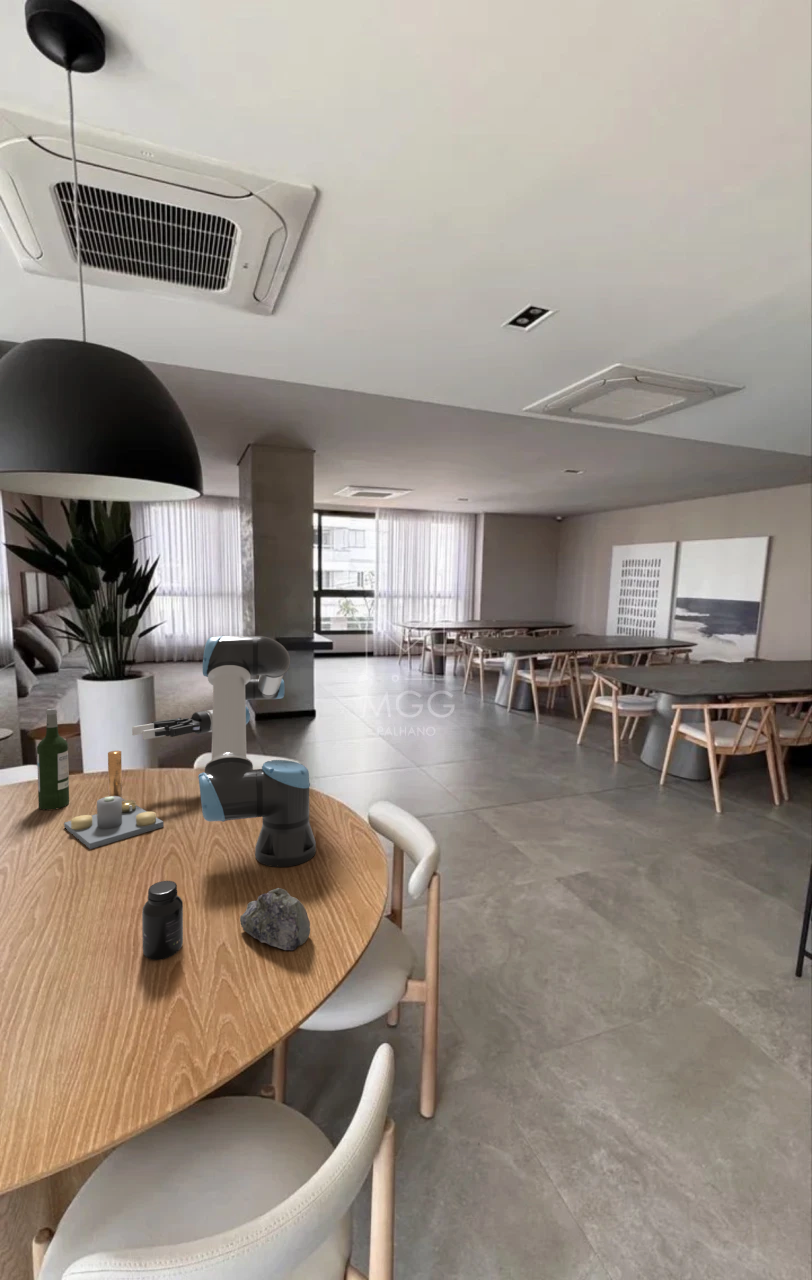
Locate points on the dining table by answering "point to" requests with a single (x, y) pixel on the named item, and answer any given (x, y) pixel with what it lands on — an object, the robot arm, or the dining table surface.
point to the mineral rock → (277, 920)
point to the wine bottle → (52, 766)
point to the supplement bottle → (162, 921)
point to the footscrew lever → (117, 780)
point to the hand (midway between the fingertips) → (138, 733)
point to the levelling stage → (114, 833)
